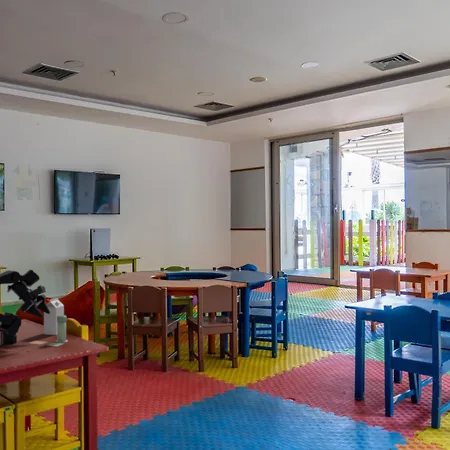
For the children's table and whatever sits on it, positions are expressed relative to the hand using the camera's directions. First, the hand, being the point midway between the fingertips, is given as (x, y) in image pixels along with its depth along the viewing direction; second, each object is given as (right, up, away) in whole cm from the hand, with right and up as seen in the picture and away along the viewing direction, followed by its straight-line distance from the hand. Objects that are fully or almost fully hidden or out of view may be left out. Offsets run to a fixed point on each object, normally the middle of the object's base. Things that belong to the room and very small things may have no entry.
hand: (46, 315), depth 235 cm
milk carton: (-2, -14, +17) cm, 22 cm away
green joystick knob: (+7, -13, 0) cm, 15 cm away
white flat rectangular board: (+3, -14, -2) cm, 14 cm away
